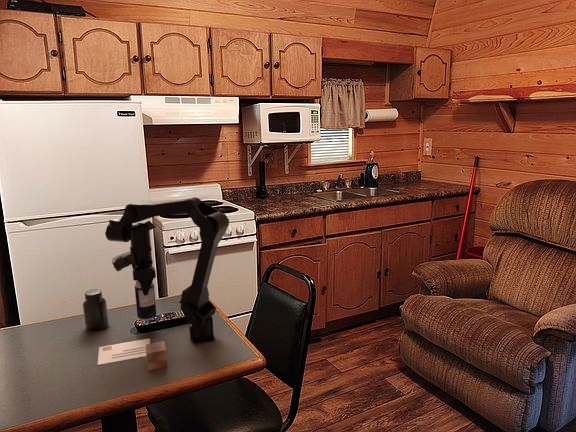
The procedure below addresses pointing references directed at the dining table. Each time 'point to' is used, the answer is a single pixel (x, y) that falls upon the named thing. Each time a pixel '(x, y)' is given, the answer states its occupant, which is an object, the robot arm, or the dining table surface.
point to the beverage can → (145, 302)
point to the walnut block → (156, 355)
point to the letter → (122, 351)
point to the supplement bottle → (95, 311)
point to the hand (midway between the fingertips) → (145, 291)
